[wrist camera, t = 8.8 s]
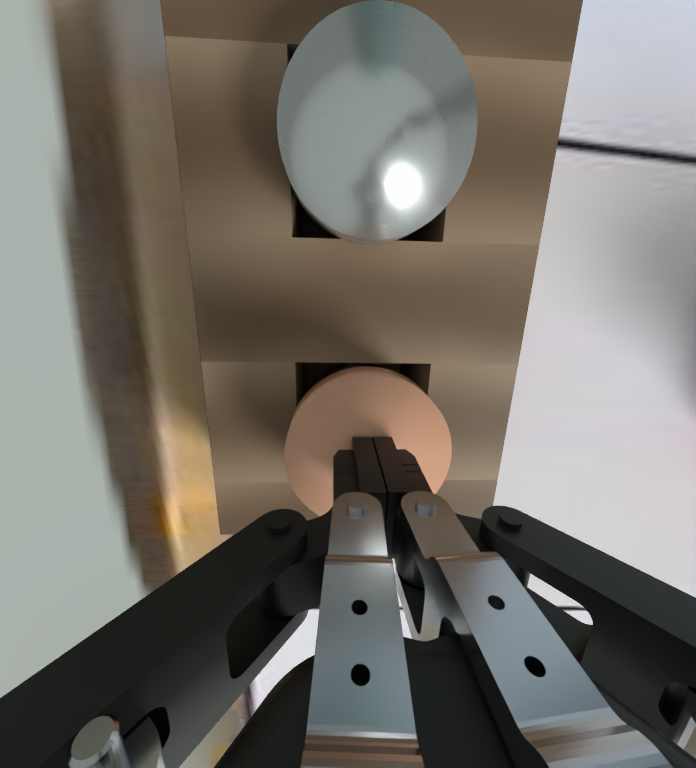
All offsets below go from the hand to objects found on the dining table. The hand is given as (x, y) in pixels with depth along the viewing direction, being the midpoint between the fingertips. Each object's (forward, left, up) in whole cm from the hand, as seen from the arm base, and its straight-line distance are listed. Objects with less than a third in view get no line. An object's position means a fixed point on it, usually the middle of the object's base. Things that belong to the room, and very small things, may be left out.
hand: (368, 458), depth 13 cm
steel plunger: (-11, 0, -8) cm, 14 cm away
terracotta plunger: (0, 0, -7) cm, 7 cm away
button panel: (-6, 0, -10) cm, 11 cm away
